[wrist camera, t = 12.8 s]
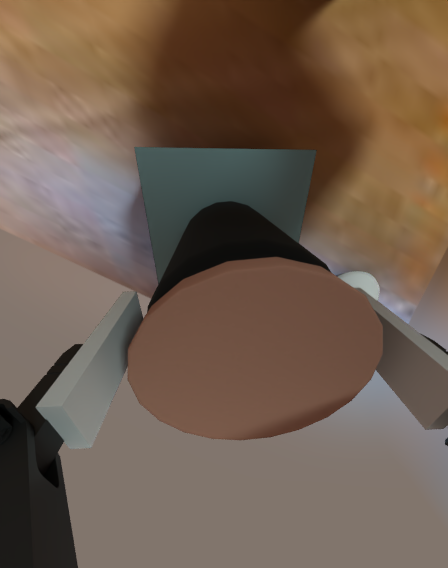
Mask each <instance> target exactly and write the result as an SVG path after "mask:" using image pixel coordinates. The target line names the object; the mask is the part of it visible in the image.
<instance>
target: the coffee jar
mask: <svg viewBox="0 0 448 568" xmlns="http://www.w3.org/2000/svg"><path fill="white" fill-rule="evenodd" d="M382 354H383V325H382V324H381V322H380V320H379V318H378V316H377V315H376V313H375V311H374V309H373V308H372V306H371V304H370V302H369V301H368V299H367V297H366V295H364V294H363V293H361V292H360V291H358V290H356V289H355V288H353V287H352V286H350V285H349V284H347V283H346V282H344V281H343V280H341V279H340V278H338V277H337V276H335V275H334V274H332V273H331V271H330V270H329V268H328V267H327V265H326V264H325V263H324V262H322V261H321V260H320V259H318V258H317V257H316V256H314V255H313V254H312V253H311V252H309V251H308V250H307V249H305V248H304V247H303V246H301V245H300V244H299V243H298V242H296V241H295V240H294V239H292V238H291V237H290V236H288V235H287V234H286V233H285V232H283V231H282V230H281V229H279V228H278V227H277V226H275V225H274V224H273V223H272V222H270V221H269V220H268V219H266V218H265V217H264V216H262V215H261V214H260V213H258V212H257V211H255V210H254V209H252V208H251V207H250V206H248V205H245V204H242V203H238V202H234V201H228V202H216V203H214V204H212V205H210V206H207V207H205V208H203V209H201V210H200V211H199V212H198V213H197V214H196V215H195V216H194V217H193V218H192V219H191V220H190V222H189V224H188V225H187V227H186V229H185V231H184V233H183V235H182V237H181V239H180V241H179V243H178V246H177V248H176V250H175V252H174V254H173V256H172V258H171V260H170V262H169V264H168V266H167V268H166V270H165V272H164V274H163V276H162V278H161V280H160V283H159V285H158V287H157V289H156V291H155V293H154V295H153V297H152V299H151V301H150V303H149V305H148V311H147V314H146V315H145V317H144V319H143V321H142V323H141V325H140V327H139V328H138V330H137V332H136V334H135V336H134V338H133V340H132V342H131V344H130V345H129V347H128V381H129V383H130V385H131V387H132V389H133V391H134V393H135V395H136V397H137V399H138V401H139V403H140V404H141V405H142V406H143V407H144V408H146V409H147V410H148V411H149V412H150V413H151V414H152V415H154V416H155V417H156V418H157V419H158V420H159V421H161V422H164V423H166V424H168V425H170V426H172V427H174V428H176V429H178V430H180V431H182V432H185V433H190V434H194V435H198V436H202V437H207V438H211V439H227V440H248V439H257V438H267V437H273V436H277V435H281V434H284V433H288V432H292V431H296V430H299V429H302V428H304V427H306V426H309V425H311V424H313V423H315V422H318V421H320V420H322V419H324V418H326V417H328V416H330V415H331V414H333V413H334V412H335V411H337V410H338V409H340V408H341V407H343V406H344V405H346V404H347V403H349V402H350V401H352V399H353V398H354V397H355V396H356V395H357V394H358V393H359V392H360V391H361V390H362V389H363V388H364V386H365V385H366V384H367V383H368V382H369V381H370V380H371V378H372V376H373V374H374V372H375V370H376V367H377V365H378V363H379V361H380V359H381V357H382Z"/></svg>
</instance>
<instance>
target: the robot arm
mask: <svg viewBox="0 0 448 568" xmlns="http://www.w3.org/2000/svg"><path fill="white" fill-rule="evenodd" d="M355 289H356V290H358V291H360V292H361V293H363V294H364V295H366V297H367V299H368V301H369V302H370V304H371V306H372V308H373V309H374V311H375V313H376V315H377V316H378V318H379V320H380V322H381V324H382V325H383V354H382V357H381V359H380V361H379V363H378V365H377V367H376V370H377V372H378V373H379V374H380V375H381V377H382V378H383V379H384V380H385V381H386V383H387V384H388V385H389V386H390V387H391V389H392V390H393V391H394V392H395V393H396V395H397V396H398V397H399V398H400V399H401V401H402V402H403V403H404V404H405V406H406V407H407V408H408V409H409V410H410V412H411V413H412V414H413V415H414V416H415V418H416V419H417V420H418V421H419V422H420V424H421V425H422V426H423V427H424V428H425V430H429V429H444V428H445V427H446V426H447V425H448V352H446V349H444V348H443V347H442V346H440V345H439V344H438V343H436V342H435V341H433V340H431V339H430V338H428V337H426V336H424V335H422V334H420V333H418V332H417V331H416V330H415V329H413V328H412V327H411V326H409V325H408V324H407V323H406V322H404V321H403V320H402V319H400V318H399V317H398V316H396V315H395V314H394V313H393V312H391V311H390V310H389V309H387V308H386V307H385V306H383V305H382V304H381V303H380V302H378V301H377V300H376V299H374V298H373V297H372V296H371V295H369V294H368V293H367V292H365V291H364V290H363V289H361V288H360V287H358V288H355ZM142 321H143V316H142V312H141V308H140V304H139V300H138V296H137V292H123V293H122V294H121V296H120V297H119V298H118V300H117V301H116V302H115V303H114V305H113V306H112V308H111V309H110V310H109V312H108V313H107V314H106V315H105V317H104V318H103V319H102V321H101V322H100V323H99V324H98V326H97V327H96V328H95V330H94V331H93V333H92V334H91V335H90V336H89V338H88V339H87V340H86V342H85V343H84V344H75V345H74V346H72V347H71V348H70V349H68V350H67V351H66V352H65V353H63V354H62V355H61V357H60V358H59V359H58V360H57V361H56V363H55V364H54V366H52V367H51V369H50V370H49V371H48V372H47V375H45V376H44V377H43V378H42V379H41V381H40V382H39V383H38V384H37V385H36V387H35V388H34V389H33V390H32V391H31V392H30V394H29V395H28V396H27V397H26V398H25V400H24V401H23V402H22V403H21V404H20V406H19V407H18V408H16V407H15V405H14V404H13V403H12V402H11V401H9V400H6V399H0V568H78V566H77V559H76V553H75V547H74V540H73V535H72V528H71V522H70V516H69V509H68V503H67V497H66V490H65V484H64V478H63V472H62V466H61V460H60V456H59V454H58V451H59V449H60V447H61V446H62V444H63V442H65V443H66V445H67V446H68V447H69V448H70V449H75V448H91V447H92V445H93V443H94V440H95V438H96V436H97V434H98V431H99V429H100V427H101V424H102V422H103V420H104V418H105V416H106V413H107V411H108V409H109V407H110V404H111V402H112V400H113V398H114V395H115V393H116V391H117V389H118V386H119V384H120V382H121V380H122V377H123V375H124V373H125V371H126V368H127V366H128V347H129V345H130V344H131V342H132V340H133V338H134V336H135V334H136V332H137V330H138V328H139V327H140V325H141V323H142ZM445 445H447V446H448V438H447V439H446V440H445Z"/></svg>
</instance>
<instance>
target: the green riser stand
mask: <svg viewBox="0 0 448 568" xmlns="http://www.w3.org/2000/svg"><path fill="white" fill-rule="evenodd" d="M134 148H135V153H136V159H137V165H138V170H139V176H140V182H141V187H142V193H143V199H144V204H145V210H146V216H147V221H148V227H149V233H150V238H151V244H152V250H153V255H154V261H155V267H156V272H157V278H158V284H159V283H160V280H161V278H162V276H163V274H164V272H165V270H166V268H167V266H168V264H169V262H170V260H171V258H172V256H173V254H174V252H175V250H176V248H177V246H178V243H179V241H180V239H181V237H182V235H183V233H184V231H185V229H186V227H187V225H188V224H189V222H190V220H191V219H192V218H193V217H194V216H195V215H196V214H197V213H198V212H199V211H200V210H201V209H203V208H205V207H207V206H210V205H212V204H214V203H216V202H228V201H234V202H238V203H242V204H245V205H248V206H250V207H251V208H252V209H254V210H255V211H257V212H258V213H260V214H261V215H262V216H264V217H265V218H266V219H268V220H269V221H270V222H272V223H273V224H274V225H275V226H277V227H278V228H279V229H281V230H282V231H283V232H285V233H286V234H287V235H288V236H290V237H291V238H292V239H294V240H295V241H296V242H298V243H299V238H300V232H301V227H302V222H303V217H304V212H305V207H306V202H307V197H308V192H309V186H310V181H311V176H312V171H313V166H314V161H315V156H316V151H317V150H285V149H221V148H158V147H134Z"/></svg>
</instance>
